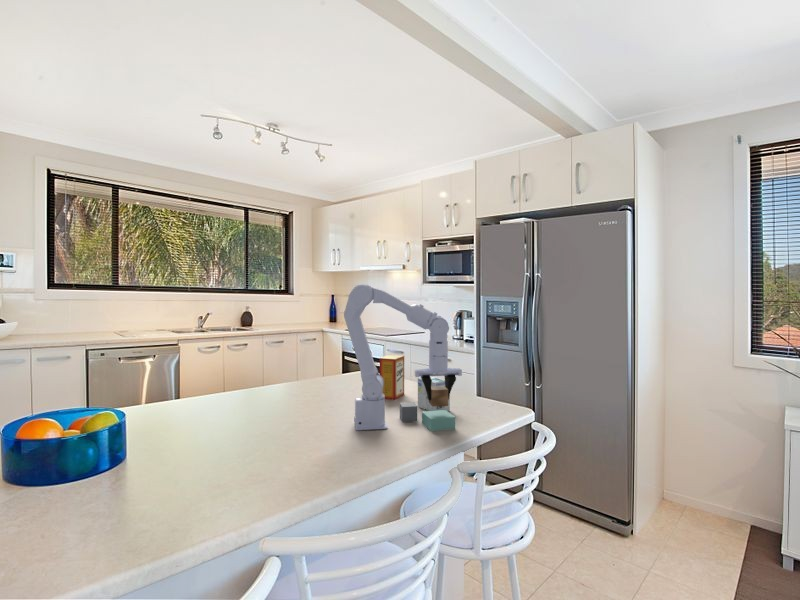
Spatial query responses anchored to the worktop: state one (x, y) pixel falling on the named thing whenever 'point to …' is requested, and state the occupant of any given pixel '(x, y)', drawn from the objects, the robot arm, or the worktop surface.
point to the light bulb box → (422, 395)
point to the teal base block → (438, 420)
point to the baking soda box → (392, 376)
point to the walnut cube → (439, 396)
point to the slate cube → (408, 412)
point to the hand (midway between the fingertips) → (438, 399)
